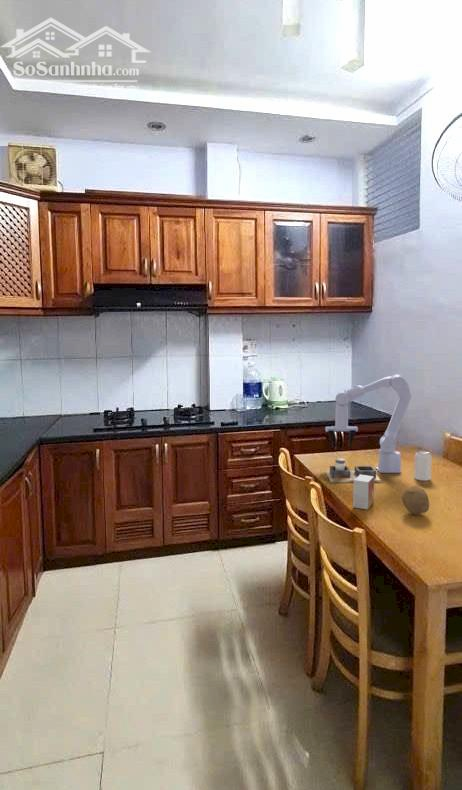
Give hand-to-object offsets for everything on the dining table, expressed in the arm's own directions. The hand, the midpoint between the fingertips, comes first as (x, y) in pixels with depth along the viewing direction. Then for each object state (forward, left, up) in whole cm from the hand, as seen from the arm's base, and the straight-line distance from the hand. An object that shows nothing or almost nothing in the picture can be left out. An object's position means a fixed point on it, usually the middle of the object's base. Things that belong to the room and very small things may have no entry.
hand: (341, 446), depth 220 cm
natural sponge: (-16, +55, -11) cm, 58 cm away
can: (-32, +16, -11) cm, 37 cm away
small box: (0, +47, -11) cm, 48 cm away
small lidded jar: (+3, +14, -9) cm, 17 cm away
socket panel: (-2, +14, -10) cm, 18 cm away
